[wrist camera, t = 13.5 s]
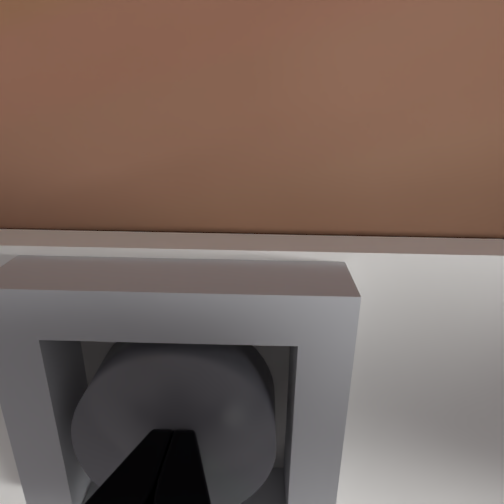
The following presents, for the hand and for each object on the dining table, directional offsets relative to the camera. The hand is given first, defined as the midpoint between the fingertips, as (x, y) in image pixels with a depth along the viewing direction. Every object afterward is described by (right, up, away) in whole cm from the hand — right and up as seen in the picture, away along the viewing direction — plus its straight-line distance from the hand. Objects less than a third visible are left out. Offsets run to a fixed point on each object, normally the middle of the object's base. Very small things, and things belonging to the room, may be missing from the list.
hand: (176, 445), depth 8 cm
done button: (0, +1, +1) cm, 2 cm away
